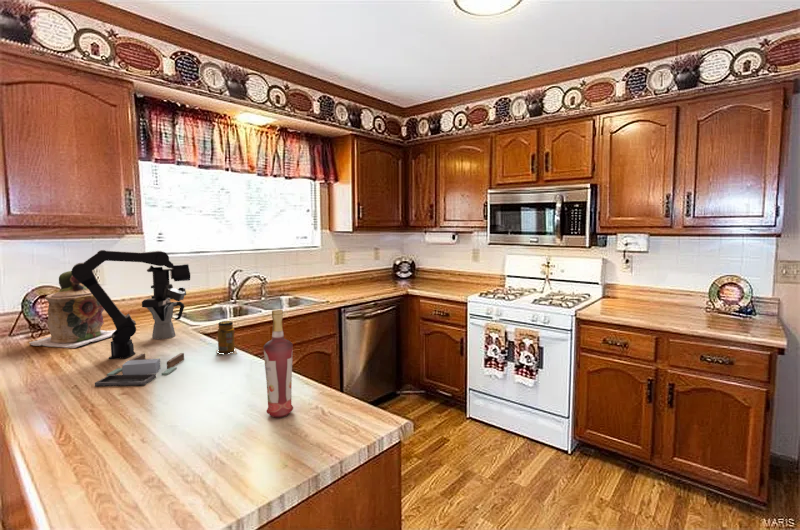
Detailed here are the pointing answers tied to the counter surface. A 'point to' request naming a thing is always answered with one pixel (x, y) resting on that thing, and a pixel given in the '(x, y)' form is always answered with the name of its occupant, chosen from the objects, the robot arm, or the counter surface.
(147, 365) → the block
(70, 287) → the cookie jar
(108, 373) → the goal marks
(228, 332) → the condiment
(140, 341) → the counter surface
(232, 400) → the counter surface
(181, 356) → the brown wooden beams
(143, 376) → the tray
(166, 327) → the coffeepot
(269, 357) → the liquor
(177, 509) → the counter surface
